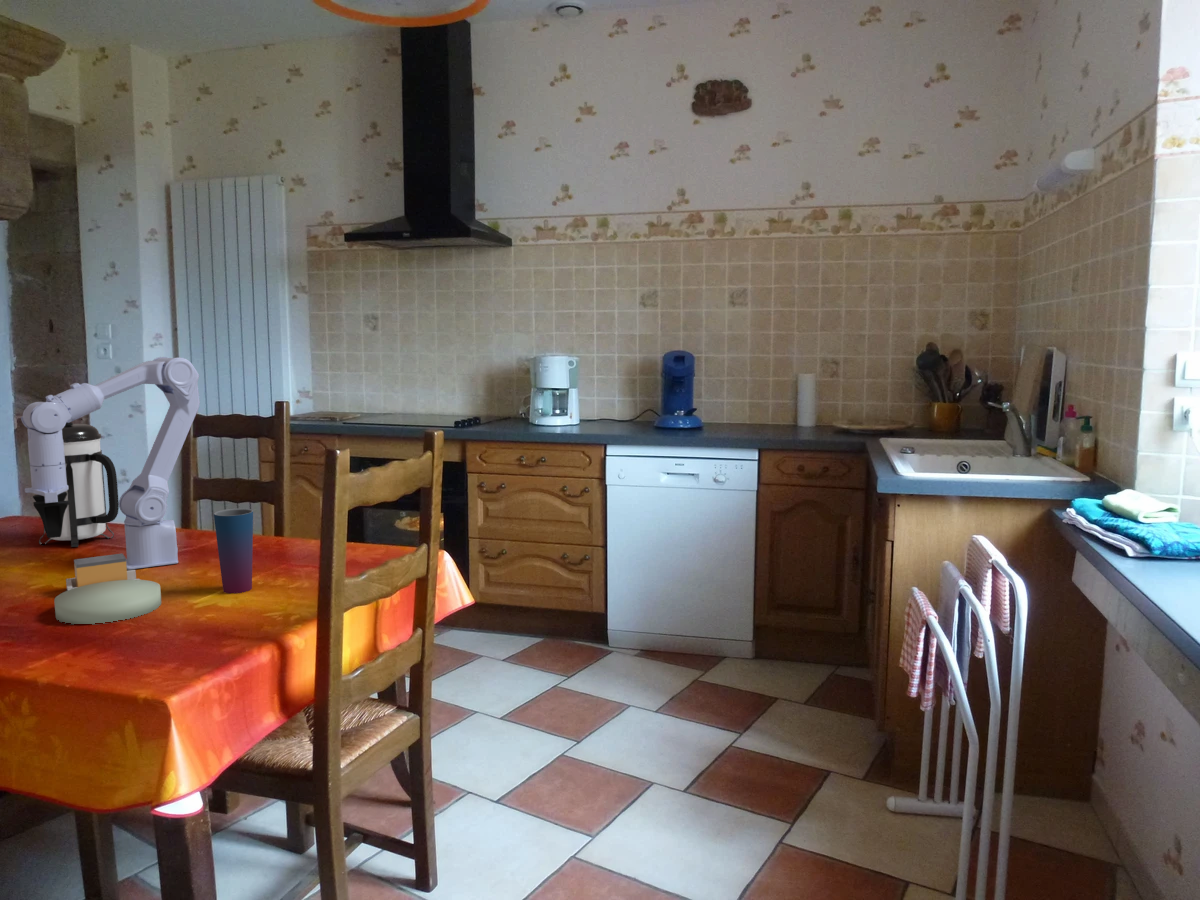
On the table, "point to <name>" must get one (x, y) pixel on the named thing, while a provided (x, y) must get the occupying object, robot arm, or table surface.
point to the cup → (235, 548)
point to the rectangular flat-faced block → (100, 569)
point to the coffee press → (86, 485)
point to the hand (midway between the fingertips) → (53, 533)
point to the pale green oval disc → (107, 600)
